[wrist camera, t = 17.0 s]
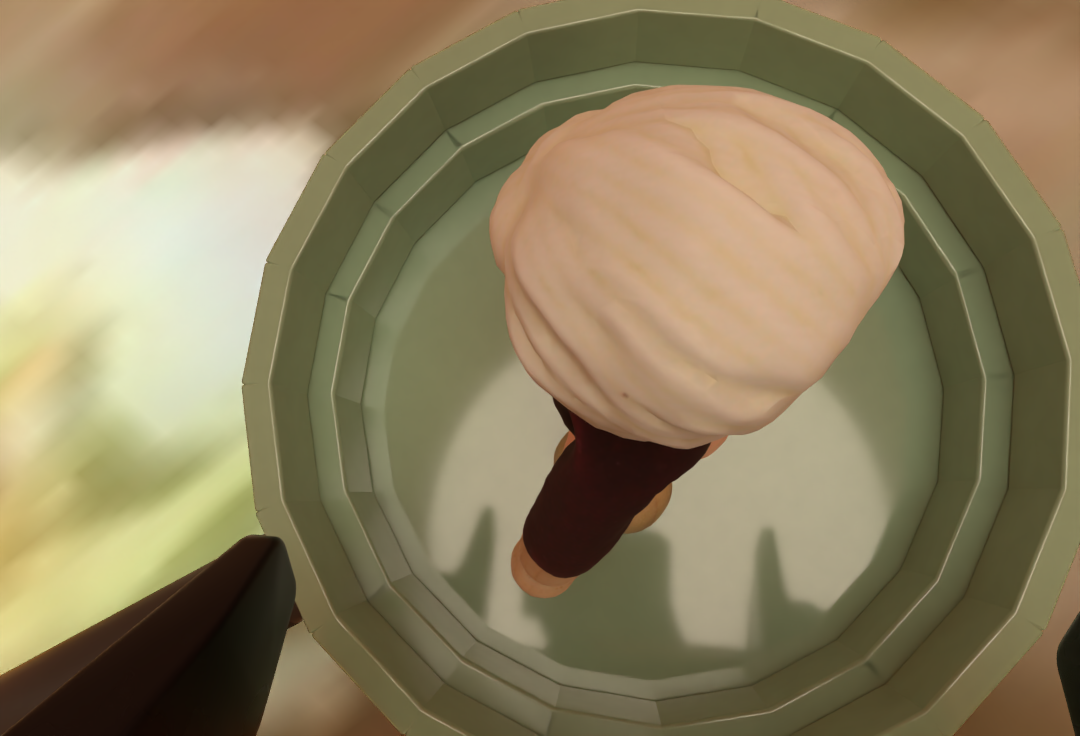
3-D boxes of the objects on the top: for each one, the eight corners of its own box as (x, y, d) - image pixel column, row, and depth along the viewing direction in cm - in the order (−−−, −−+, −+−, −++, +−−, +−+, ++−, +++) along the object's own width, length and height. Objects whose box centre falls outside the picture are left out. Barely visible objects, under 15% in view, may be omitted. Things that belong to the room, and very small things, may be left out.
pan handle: (-123, 852, 16) (-216, 898, 14) (-151, 765, 16) (-246, 800, 14) (356, 593, 16) (324, 606, 14) (318, 512, 16) (282, 514, 14)
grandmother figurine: (690, 597, 17) (928, 895, 4) (518, 553, 17) (298, 709, 5) (760, 262, 18) (1115, -264, 5) (597, 228, 18) (581, -328, 6)
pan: (505, 875, 17) (472, 1000, 13) (225, 278, 20) (122, 220, 15) (1126, 539, 17) (1295, 555, 13) (760, -11, 20) (803, -146, 15)
